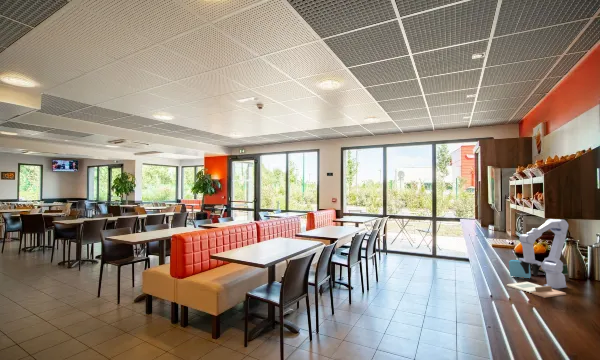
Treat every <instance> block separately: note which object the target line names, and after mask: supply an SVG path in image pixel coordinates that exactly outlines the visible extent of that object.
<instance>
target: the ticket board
mask: <svg viewBox="0 0 600 360" xmlns="http://www.w3.org/2000/svg"><path fill="white" fill-rule="evenodd" d="M542 286H543V285H539V284H538V283H533V282H529V281H523V282H521V281H520V282H515V283H514V282H513V283H508V284H506V287H509V288H512V289H515V290H518V291H521V290H523V291H522V292H524V291H526V292H525V293H527V292H529V293H528V294H530V293H532V292H535V291H536V290H535V287H542Z"/></svg>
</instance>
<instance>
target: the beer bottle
mask: <svg viewBox="0 0 600 360" xmlns="http://www.w3.org/2000/svg"><path fill="white" fill-rule="evenodd" d="M559 260H560V261H561V262H562V263H563V271H562V272H561V273H563V274H564V276H565V281H566V282H570V274H569V268H568V261H567V259H566V258H565V257H564V255H563V251H562V252H561V256H560V259H559Z"/></svg>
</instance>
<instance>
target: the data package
mask: <svg viewBox="0 0 600 360" xmlns="http://www.w3.org/2000/svg"><path fill="white" fill-rule="evenodd" d="M520 262H521V261H519V259H510V260H509V261H508V268H509V276H510V277H511V276H515V277H524V278H529V279H530V278H532V277H531V276H532V274H531V273H532V271H531V266H530V265H531V263H529V273H528V274H525V271H524V269H523V267H522V266H521V264H520ZM524 278H523V279H524Z"/></svg>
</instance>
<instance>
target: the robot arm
mask: <svg viewBox="0 0 600 360" xmlns="http://www.w3.org/2000/svg"><path fill="white" fill-rule="evenodd" d="M568 229H569V223H568V222H567V220H566V219H557V218H556V219H555V218H548V219H547V220H545V222H544V223H543V224H542V225H540V226H539V227H536V228H535V227H534V228H533V227H532V228H531V230H530V231H527V232H526V233H525V234H524V233H522V234H520V236H519V239H518V240H519V242H520V244H521V246H522V254H523V257H518V260H519V261H521V262H520V264H521V266H522V267H523V269H524V271H525V274H528V273H529V263H530V268H531V270H532V273H533V276H534V277H537V276H538V274H539V270H540V268H541V269H542V270H543V271H544V272H545V279H546V284H543V286H551V288H552V289H554V290H558V289H563V288H564V289H565V288H568V285H567V281H565V276H564V274H563V273H561V272H562V271H563V263H562V262H561V261H560V260H559V259H560V256H561V252H562V253H563V249H564V245H565V240H566V239H567V233H568ZM549 230H550V231H551V232H552V233H553V234H554V238H553V241H552V244H551V248H550V251H549V255H548V257H544V260H543V261H539V260H536V256H535V248H534V244H535V243H536V240H537V239H538V238H540V237H542V235H543V233H544V232H547V231H549ZM544 272H543V273H544Z"/></svg>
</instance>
